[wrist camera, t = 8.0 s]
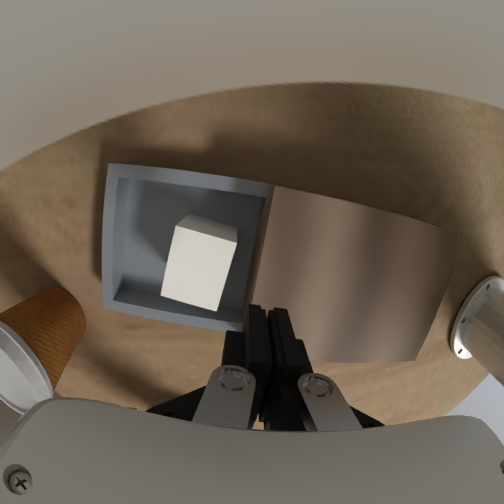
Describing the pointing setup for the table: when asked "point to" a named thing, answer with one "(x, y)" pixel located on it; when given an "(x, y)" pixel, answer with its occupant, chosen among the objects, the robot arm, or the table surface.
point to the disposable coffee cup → (37, 346)
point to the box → (161, 234)
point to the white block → (199, 261)
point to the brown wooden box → (349, 275)
